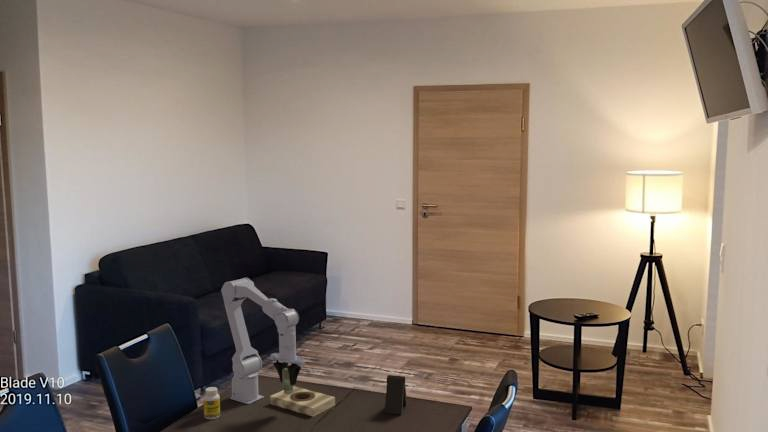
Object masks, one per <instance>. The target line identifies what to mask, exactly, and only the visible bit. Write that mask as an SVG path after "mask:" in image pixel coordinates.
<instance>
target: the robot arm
mask: <svg viewBox="0 0 768 432" xmlns="http://www.w3.org/2000/svg"><path fill="white" fill-rule="evenodd" d="M220 292H221V295H222V298H223V303H224V307H225V312H226V316H227V319H228V323H229V328H230V332H231V335H232V339H233V343H234V347H235V353H234V354H233V355H232V358H231V361H232V371H233V374H234V375H233V376H232V379H231V396H230V398H229V399H231V400H232V401H233V400H234V401H236V402H239V403H242V404H247V405H250V404H253V403H254V402H257V401H260V400H262V399H263V398H264V397H265V396H264V395H261V394H259V374H260V371H261V370H262V368H263V360H262V358H261V357H260V355H259V352H258V350H257V349H255V348H254V347H252V346H251V342H250V337H249V333H248V329H247V326H246V323H245V318H244V315H243V314H244V313H243V310H242V304H243V302H244V301H245V300H246V299H247V298H248V299H250V300H251V301H253V302H254V303H256V304H257V305H259V306H261V308H262V312H263V313H264V314H266V315H267V316H268V317H269V318H271V319H272V320H274V324H275V326H276V328H277V333H278V346H279V348H278V349H279V350H278V351H279V352H274V353H270V360H271V361H275V362H274V363H273V367H274V368H275V369H276V371H277V375H278V377H279V380H280V383H281V384H282V369H284V368H287V369H288V372H289V376H290V385H294V386H295V385H296V384H297V381H298V380H297V379H298V376H299V373H300V371H301V369H302V368H304V367H306V359H302V358H301V357H298V356H297V341H296V340H297V339H296V338H297V337H296V336H297V334H296V333H297V332H296V328H297V327H296V325H298V323H299V320H300V316H299V313H298V311H296V310H295V308H288V307H286V306H285V305H283V304H282V303H280V302H279V301H278V299H277V298H272V297H271V298H268V297H267V296H266V295H265V294H264V293H262V291H260V290H259V288H257V286H255V282H254V281H253V280H251V279H250V278H249V277H243V278H240V279H235V280H231V281H226V282H224V283H223V285H222V287H221V289H220Z"/></svg>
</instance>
